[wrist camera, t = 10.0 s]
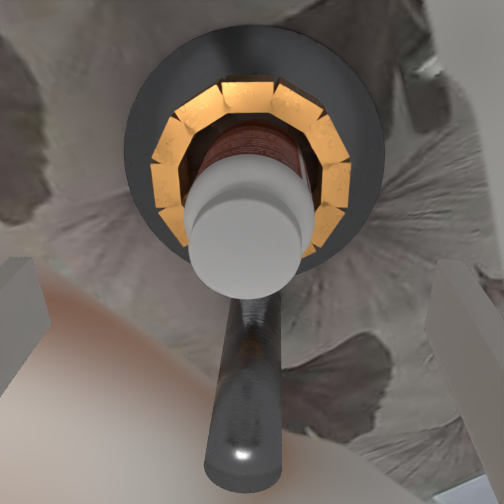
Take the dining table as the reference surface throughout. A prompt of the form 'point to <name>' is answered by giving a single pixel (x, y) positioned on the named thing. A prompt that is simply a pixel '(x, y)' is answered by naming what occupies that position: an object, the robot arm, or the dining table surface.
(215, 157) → the pill bottle
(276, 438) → the round base with peg
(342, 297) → the dining table surface
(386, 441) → the dining table surface
